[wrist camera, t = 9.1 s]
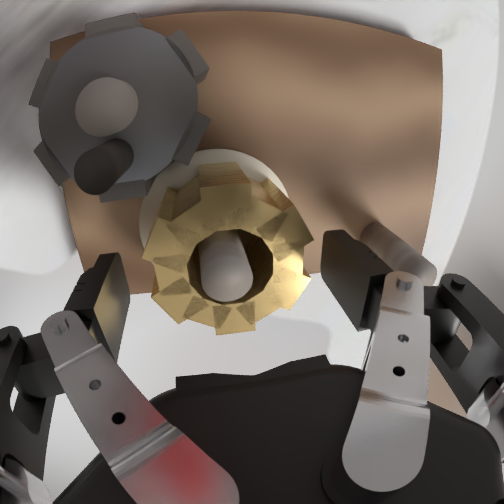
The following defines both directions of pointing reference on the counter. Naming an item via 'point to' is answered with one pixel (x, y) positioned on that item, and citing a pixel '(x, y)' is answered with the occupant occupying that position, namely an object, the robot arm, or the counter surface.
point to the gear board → (243, 131)
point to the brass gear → (257, 250)
